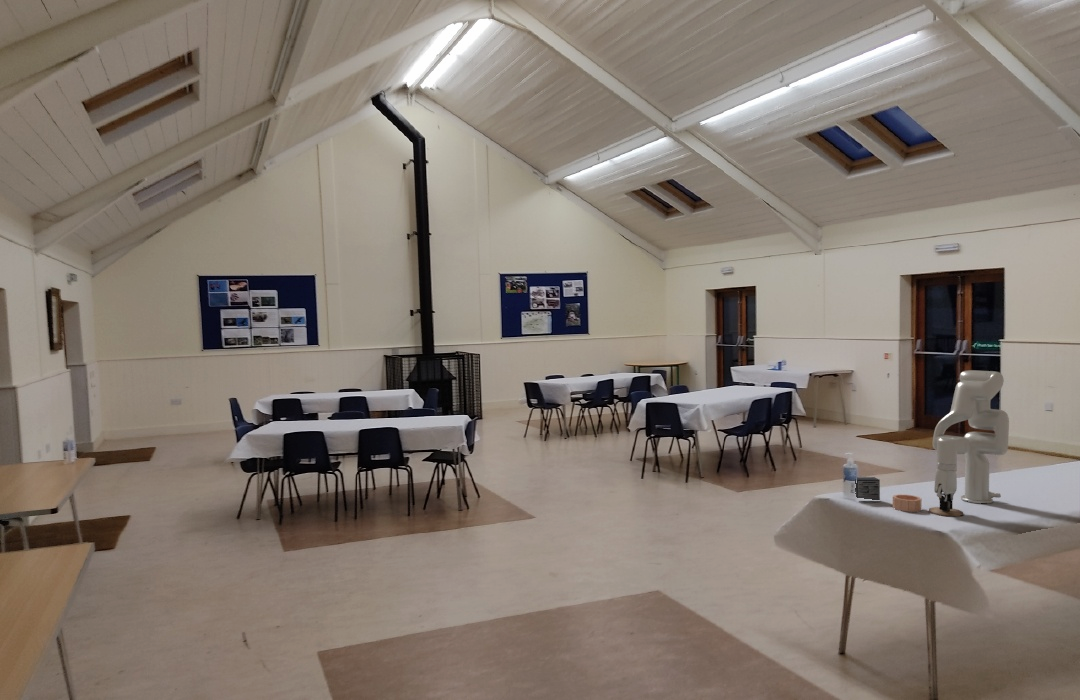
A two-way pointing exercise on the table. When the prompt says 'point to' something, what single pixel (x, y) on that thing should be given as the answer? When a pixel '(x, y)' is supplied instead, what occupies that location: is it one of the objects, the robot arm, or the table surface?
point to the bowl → (907, 503)
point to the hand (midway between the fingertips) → (945, 509)
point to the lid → (945, 513)
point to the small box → (868, 488)
